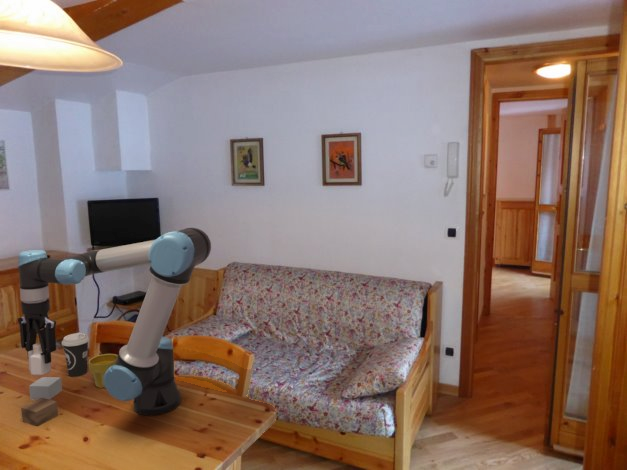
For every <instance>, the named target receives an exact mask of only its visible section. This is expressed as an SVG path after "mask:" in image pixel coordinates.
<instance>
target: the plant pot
mask: <svg viewBox="0 0 627 470" xmlns="http://www.w3.org/2000/svg"><path fill="white" fill-rule="evenodd" d="M117 356H118V354H116V353H104V354H100V355H96V356H95V355H94V356H93V357H91V358H90V359H88V360H87V366H88V371H89V372H90V373H91V375H92V378H93V382H94V385H95V386H96V388H99V389H100V388H102V389H106V388H105V385H104V374H105V372H106V371H107V370H108V368H109V367H111V366H113V365H114V364H115V362H116V359H117Z"/></svg>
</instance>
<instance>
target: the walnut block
mask: <svg viewBox="0 0 627 470" xmlns="http://www.w3.org/2000/svg"><path fill="white" fill-rule="evenodd" d="M58 409H59V408H58V401H55V400H53V399H50V400H49V399H46V398H40V399H35V400H34V401H32V402H30V403H28V404H26V405H24V406H22V407H20V412H21V420H22V423H24V424H28V425H30V426H34V427H37V428H38V427H40V426H42V425H43V424H45V423H47V422H49V421H51V420H53V419H54V418H56V417H58V416H59V411H58Z"/></svg>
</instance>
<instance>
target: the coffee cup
mask: <svg viewBox="0 0 627 470" xmlns="http://www.w3.org/2000/svg"><path fill="white" fill-rule="evenodd" d="M89 341H90V339H89V336H88V335H87V333H83V332H76V333H70V334H68V335H65V336H64V337H63V340H61V345H62V347H63V350H64V351H63V352H64V357H65V362H66V368H67V373H68V377H69V378H70V377H71V378H77V377H78V378H79V377H81V376H84V375H86V374H87V373H88V355H89V353H88V349H89Z"/></svg>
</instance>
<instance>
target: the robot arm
mask: <svg viewBox="0 0 627 470" xmlns="http://www.w3.org/2000/svg"><path fill="white" fill-rule="evenodd" d="M211 250H212V242H211V239H210V237H209V235H208V234H207V233H206V232H205V231H203V230H201V229H200V228H197V227H187V228H183V229H179V230H176V231H169V232H166V233H164V234H162V235H161V236H159V237H157V238H156V239H151V240H146V241H143V242H136V243H135V242H134V243H131V244H126V245H119V246H114V247H108V248H103V249H95V250H94V249H92V250H89V251H86V252H83V253H79V254H75V255H70V256H67V257H62V258H51V257H48V255H47V252H46V251H45V250H43V249H29V250H23V251H21V252H19V253H18V255H17V256H18V259H17V260H18V261H17V262H18V263H17V268H18V274H19V277H18V278H19V293H20V301H21V305H20V306H21V313H22V314H23V315H24V316H21V317H18V318H17V322H18V325H19V334H20V347H21V348H22V349H25V351H26V352H27V354H26V355H27V361H28V367H29V368H28V372H30V373H31V366H30V356H32V355H33V354H34V351H33V345H34V344H36V343H37V337H38V341H39V343H40V345H41V349H42V353H41V354H40V356H41V371H42V374H43V375H45V374H48V373H49V372H52V366H51V365H52V364H51V363H52V353H53V352H55V351H57V343H56V342H57V339H56V338H57V337H56V325H57V321H56V320H50V318H49V315H48V313H49V312H50V310H51V302H50V299H49V297H50V292H49V291H50V290H49V283H50V284H58V285H59V284H61V285H67V286H68V285H77V284H80V283H81V282H82V281H83V280H84V279H85V277H88V276H91V275H96V274H103V273H106V272H114V271H119V270H124V269H131V268H137V267H143V266H149V265H150V266H149V269H148V271H149V274H150V275H151V276H152V278H151V279H150V282H149V285H148V288H147V291H146V294H145V297H144V299H143V301H142V304H141V308H140V310H139V312H138V316H137V318H136V321H135V323H134V326H133V329H132V330H131V331H132V332H131V335H130V337H129V340H128V343H127V344H124V345H123V346H122V347H121V348H120V349H119V351H118V354H117V355H118V356H117V359H116V362H115V364H114V365H113V366H111V367H109V368H108V370H107V371H106V372H105V374H104V385H105V388H104V389H106V392H107V393H108V394H109V395H110V396H112V397H113V398H114V399H116V400H118V401H121V402H130V401H133V403H132V404H133V405H132V406H133V410H134V412H135V413H137V414H138V415H141V416H158V415H163V414H165V413H168V412H170V411H173V410H174V409H176V408H178V406H180V404H181V402H182V401H181V399H182V397H181V393H180V390H179V389H178V385H177V384H176V380H175V366H174V346H173V340H172V339H171V338H169V337H167V336H163V335H164V332H165V330H166V327H167V325H168V323H169V319H170V317H171V315H172V312H173V310H174V309H173V308H174V307H175V304H176V301H177V299H178V297H179V294H180V292H181V288H182V286H184V285H187V284H189V281H190V280H191V278H192V274H193V272H194V270H195V267H196V266H198V265H200V264H203V263H204V262H205V261H206V260H207V259H208V258H209V255H210V254H211Z"/></svg>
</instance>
